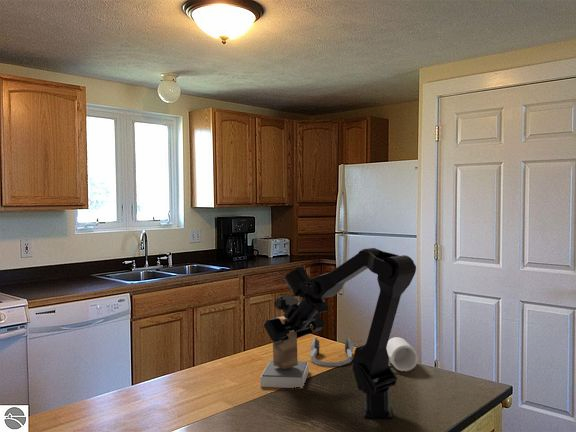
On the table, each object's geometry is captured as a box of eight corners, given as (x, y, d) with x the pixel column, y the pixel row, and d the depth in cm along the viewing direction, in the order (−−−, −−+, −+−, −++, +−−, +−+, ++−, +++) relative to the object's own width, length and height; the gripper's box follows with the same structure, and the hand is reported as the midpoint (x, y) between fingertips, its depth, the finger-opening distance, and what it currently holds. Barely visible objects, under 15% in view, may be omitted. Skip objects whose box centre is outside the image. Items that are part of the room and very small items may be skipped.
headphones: (312, 345, 179) (307, 373, 159) (311, 330, 178) (306, 356, 158) (361, 346, 176) (363, 374, 157) (361, 330, 175) (362, 357, 156)
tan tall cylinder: (297, 365, 147) (296, 322, 147) (284, 369, 143) (283, 325, 143) (286, 361, 151) (285, 319, 150) (273, 365, 147) (272, 322, 147)
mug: (409, 361, 161) (408, 336, 161) (418, 371, 151) (417, 344, 151) (372, 362, 161) (371, 337, 161) (378, 372, 151) (378, 346, 151)
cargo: (292, 322, 147) (292, 317, 147) (283, 324, 144) (283, 319, 144) (284, 320, 149) (284, 315, 149) (276, 322, 147) (276, 317, 147)
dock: (302, 388, 139) (302, 376, 139) (260, 386, 141) (260, 375, 141) (308, 371, 153) (308, 361, 153) (269, 370, 155) (269, 360, 155)
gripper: (315, 283, 150) (292, 314, 158) (266, 291, 138) (244, 325, 146) (335, 312, 144) (310, 344, 152) (286, 324, 132) (261, 357, 140)
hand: (281, 341), depth 148 cm, fingers closed on tan tall cylinder, 5 cm apart
